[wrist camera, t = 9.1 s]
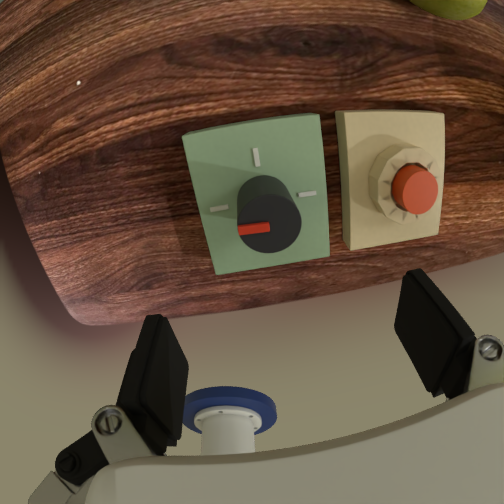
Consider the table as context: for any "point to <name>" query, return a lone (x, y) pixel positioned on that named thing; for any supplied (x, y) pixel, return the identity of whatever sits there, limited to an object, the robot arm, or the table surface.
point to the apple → (452, 8)
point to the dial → (267, 215)
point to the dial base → (251, 165)
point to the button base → (386, 172)
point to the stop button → (415, 189)
